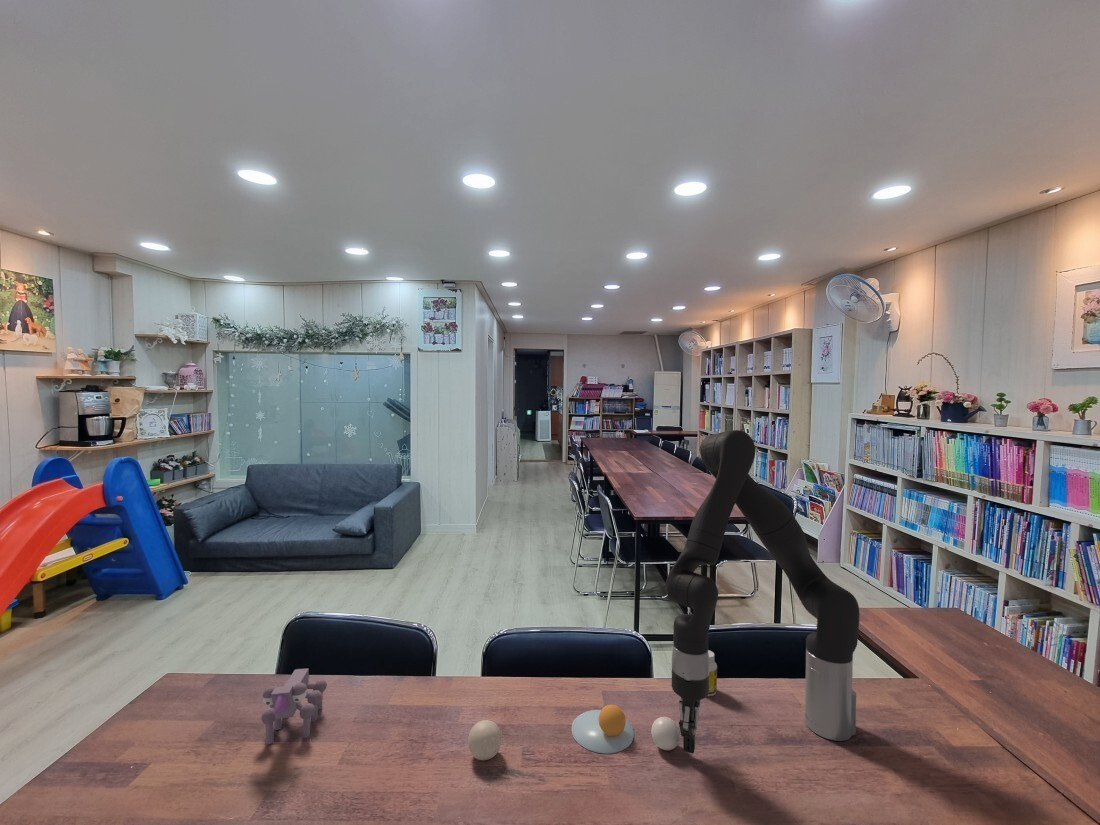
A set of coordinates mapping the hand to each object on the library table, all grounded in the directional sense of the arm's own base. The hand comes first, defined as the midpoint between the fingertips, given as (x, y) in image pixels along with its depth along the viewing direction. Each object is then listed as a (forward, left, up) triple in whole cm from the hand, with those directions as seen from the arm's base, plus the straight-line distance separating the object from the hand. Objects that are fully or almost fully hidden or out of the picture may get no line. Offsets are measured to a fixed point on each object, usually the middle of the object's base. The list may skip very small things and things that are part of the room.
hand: (689, 750), depth 98 cm
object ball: (+14, -8, +2) cm, 17 cm away
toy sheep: (+85, -14, -2) cm, 87 cm away
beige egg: (+42, -4, -2) cm, 43 cm away
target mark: (+16, -9, -2) cm, 19 cm away
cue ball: (+4, -3, +2) cm, 5 cm away
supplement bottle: (-14, -22, -2) cm, 26 cm away
